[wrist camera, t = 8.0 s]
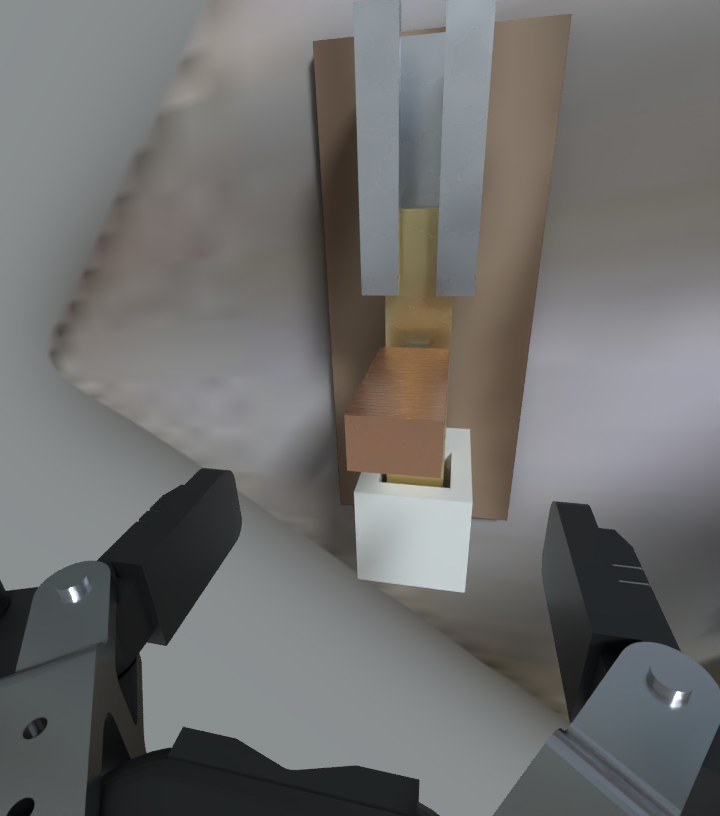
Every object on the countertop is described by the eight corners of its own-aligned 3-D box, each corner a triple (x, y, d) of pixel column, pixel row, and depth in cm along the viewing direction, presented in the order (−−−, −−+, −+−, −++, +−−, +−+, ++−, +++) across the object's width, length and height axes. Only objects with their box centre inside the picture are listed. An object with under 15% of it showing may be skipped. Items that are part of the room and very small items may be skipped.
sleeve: (486, 49, 21) (497, -15, 15) (471, 270, 26) (474, 296, 19) (385, 58, 22) (353, 2, 16) (386, 270, 27) (361, 295, 20)
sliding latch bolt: (459, 206, 21) (456, 217, 11) (442, 504, 28) (432, 680, 18) (392, 208, 22) (332, 219, 12) (393, 500, 29) (356, 667, 19)
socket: (469, 429, 30) (472, 502, 23) (464, 504, 32) (464, 592, 25) (378, 423, 31) (353, 492, 24) (379, 496, 33) (357, 578, 26)
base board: (567, 21, 21) (571, 14, 20) (505, 511, 33) (506, 520, 32) (318, 46, 23) (312, 41, 23) (343, 496, 35) (340, 504, 34)
